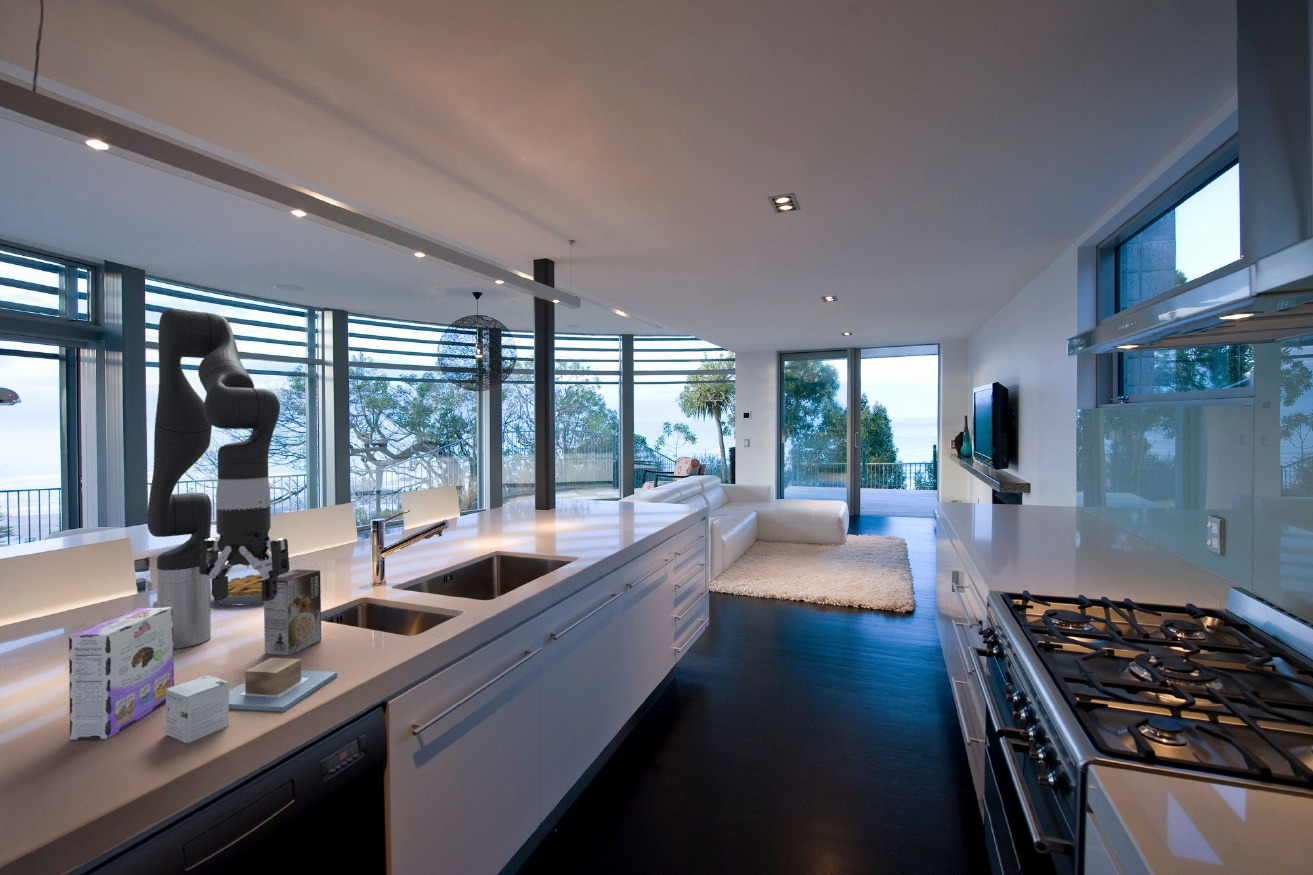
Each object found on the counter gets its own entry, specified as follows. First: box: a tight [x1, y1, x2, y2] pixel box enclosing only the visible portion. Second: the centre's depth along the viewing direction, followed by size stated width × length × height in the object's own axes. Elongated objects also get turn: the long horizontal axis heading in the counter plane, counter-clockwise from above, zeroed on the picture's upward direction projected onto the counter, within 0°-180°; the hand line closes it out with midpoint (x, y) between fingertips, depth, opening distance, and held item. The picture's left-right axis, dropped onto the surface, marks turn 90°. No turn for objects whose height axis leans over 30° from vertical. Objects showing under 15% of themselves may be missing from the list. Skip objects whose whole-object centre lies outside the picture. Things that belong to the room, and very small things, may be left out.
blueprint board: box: [229, 669, 338, 712], centre depth 105 cm, size 14×14×1 cm
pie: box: [217, 574, 264, 606], centre depth 164 cm, size 22×22×5 cm
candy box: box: [68, 607, 175, 741], centre depth 95 cm, size 14×6×16 cm, turn 5°
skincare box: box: [165, 674, 230, 744], centre depth 91 cm, size 6×6×7 cm
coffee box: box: [263, 568, 322, 656], centre depth 126 cm, size 9×6×16 cm
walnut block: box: [244, 657, 302, 695], centre depth 105 cm, size 6×6×4 cm
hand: (244, 599), depth 98 cm, fingers open, 8 cm apart
